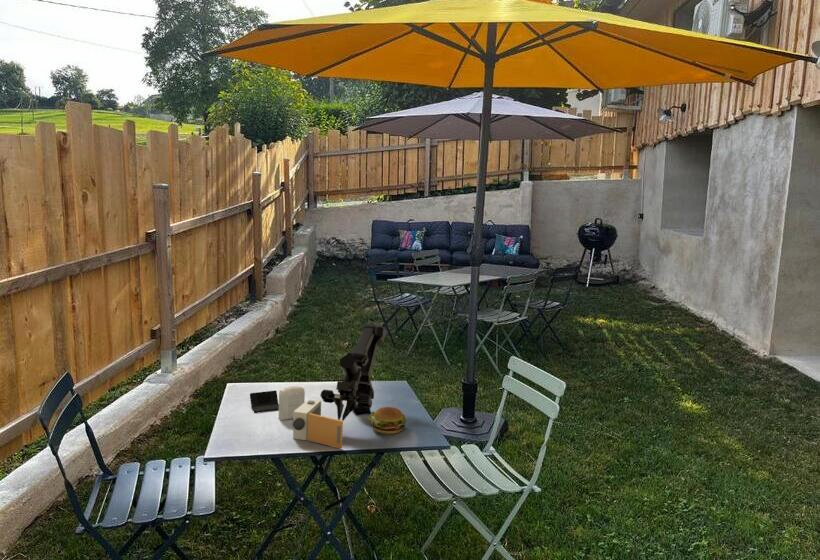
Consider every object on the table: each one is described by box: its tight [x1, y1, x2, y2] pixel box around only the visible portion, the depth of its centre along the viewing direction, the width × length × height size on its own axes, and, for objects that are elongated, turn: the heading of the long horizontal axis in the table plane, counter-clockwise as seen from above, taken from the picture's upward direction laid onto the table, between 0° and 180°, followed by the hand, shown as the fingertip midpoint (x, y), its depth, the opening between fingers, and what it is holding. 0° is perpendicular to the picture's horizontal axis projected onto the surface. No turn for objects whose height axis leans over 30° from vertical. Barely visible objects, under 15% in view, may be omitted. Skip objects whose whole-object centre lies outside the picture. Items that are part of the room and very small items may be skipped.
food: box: [367, 406, 407, 435], centre depth 233 cm, size 14×14×8 cm
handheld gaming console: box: [249, 390, 279, 414], centre depth 250 cm, size 12×7×10 cm
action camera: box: [292, 398, 322, 441], centre depth 226 cm, size 16×5×11 cm, turn 167°
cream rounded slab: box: [278, 385, 306, 421], centre depth 240 cm, size 10×4×12 cm, turn 123°
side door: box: [306, 413, 344, 449], centre depth 216 cm, size 14×1×10 cm, turn 64°
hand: (340, 419), depth 224 cm, fingers closed
